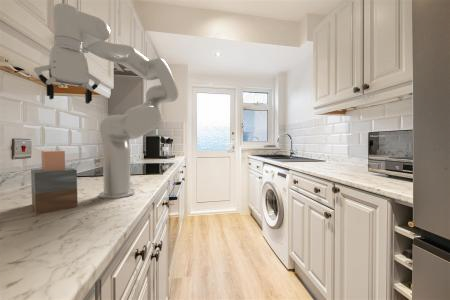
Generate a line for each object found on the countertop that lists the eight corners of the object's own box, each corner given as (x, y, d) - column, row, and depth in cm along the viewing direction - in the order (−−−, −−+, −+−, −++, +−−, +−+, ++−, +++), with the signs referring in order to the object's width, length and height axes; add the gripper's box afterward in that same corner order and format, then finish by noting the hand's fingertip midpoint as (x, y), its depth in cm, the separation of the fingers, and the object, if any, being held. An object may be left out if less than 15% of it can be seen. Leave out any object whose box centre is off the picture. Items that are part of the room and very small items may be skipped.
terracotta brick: (41, 168, 69) (41, 150, 69) (60, 167, 73) (60, 150, 72) (44, 171, 64) (44, 151, 63) (65, 169, 67) (64, 151, 67)
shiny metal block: (32, 204, 70) (30, 168, 69) (68, 198, 77) (67, 166, 77) (36, 214, 60) (34, 173, 60) (77, 206, 67) (76, 169, 67)
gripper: (96, 58, 76) (97, 105, 77) (31, 42, 63) (33, 98, 64) (102, 52, 71) (103, 103, 71) (33, 33, 58) (35, 94, 59)
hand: (70, 101), depth 68 cm, fingers open, 9 cm apart
